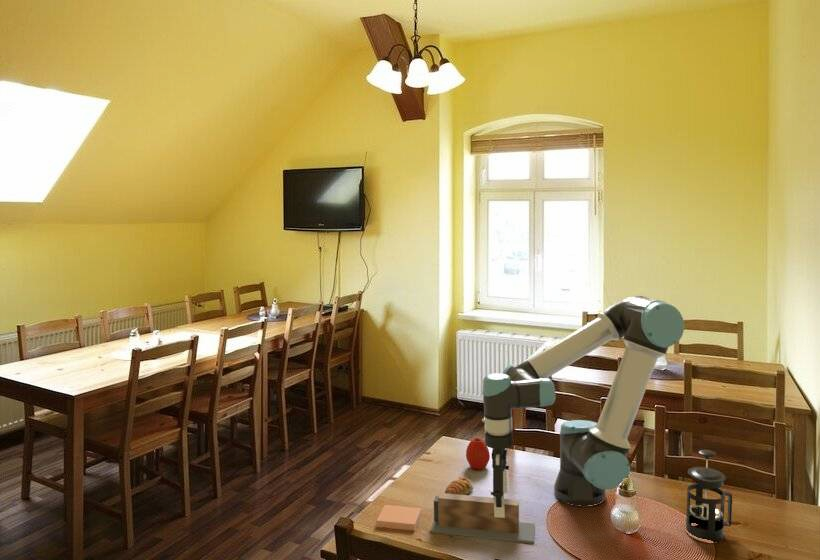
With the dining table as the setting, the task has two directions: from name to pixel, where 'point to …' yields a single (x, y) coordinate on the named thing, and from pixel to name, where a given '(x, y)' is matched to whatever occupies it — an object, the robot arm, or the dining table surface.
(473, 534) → the mat
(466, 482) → the pastry
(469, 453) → the red vase
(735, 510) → the dining table surface
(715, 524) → the french press
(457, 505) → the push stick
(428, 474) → the dining table surface
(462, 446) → the dining table surface
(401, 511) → the tile
